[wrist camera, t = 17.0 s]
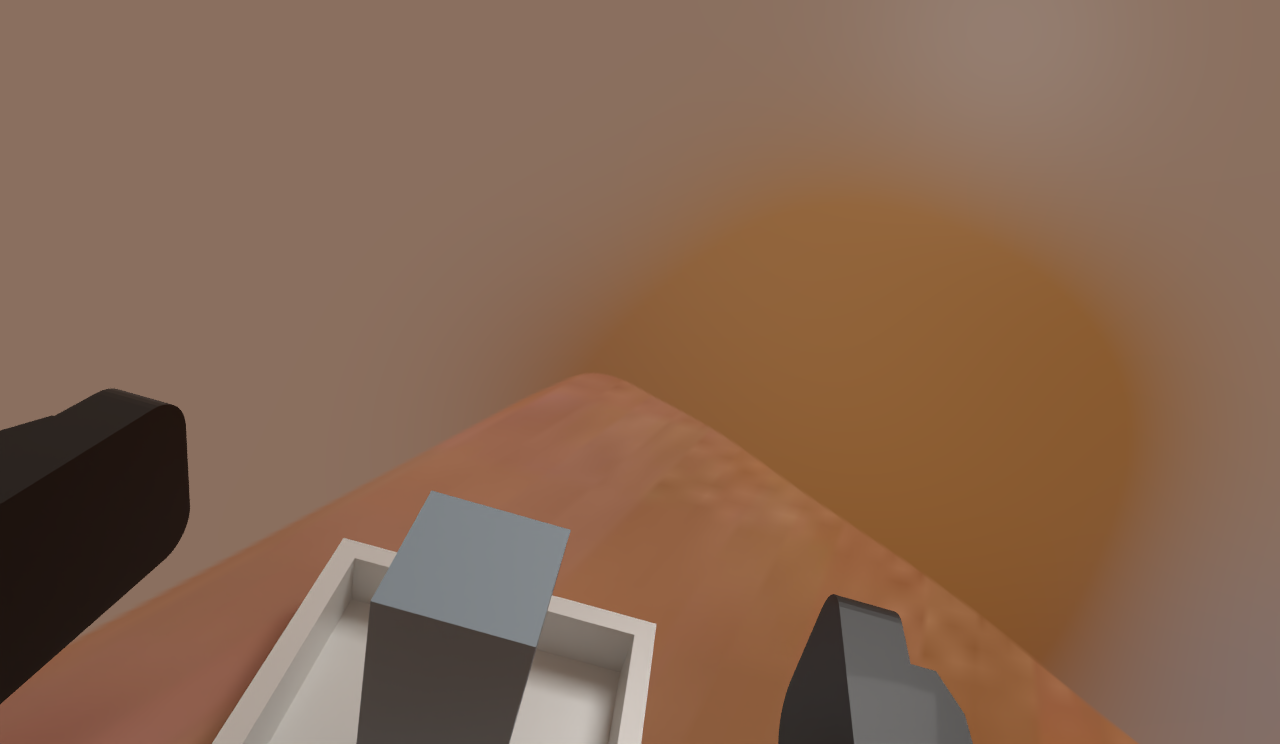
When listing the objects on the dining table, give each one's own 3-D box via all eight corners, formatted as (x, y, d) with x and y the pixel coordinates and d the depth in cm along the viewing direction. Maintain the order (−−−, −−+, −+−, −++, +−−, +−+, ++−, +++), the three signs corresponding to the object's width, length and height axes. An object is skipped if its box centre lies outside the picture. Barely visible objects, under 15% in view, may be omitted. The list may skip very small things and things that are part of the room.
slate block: (507, 751, 34) (570, 529, 27) (471, 871, 30) (535, 647, 23) (397, 721, 34) (431, 490, 27) (347, 838, 30) (370, 601, 22)
